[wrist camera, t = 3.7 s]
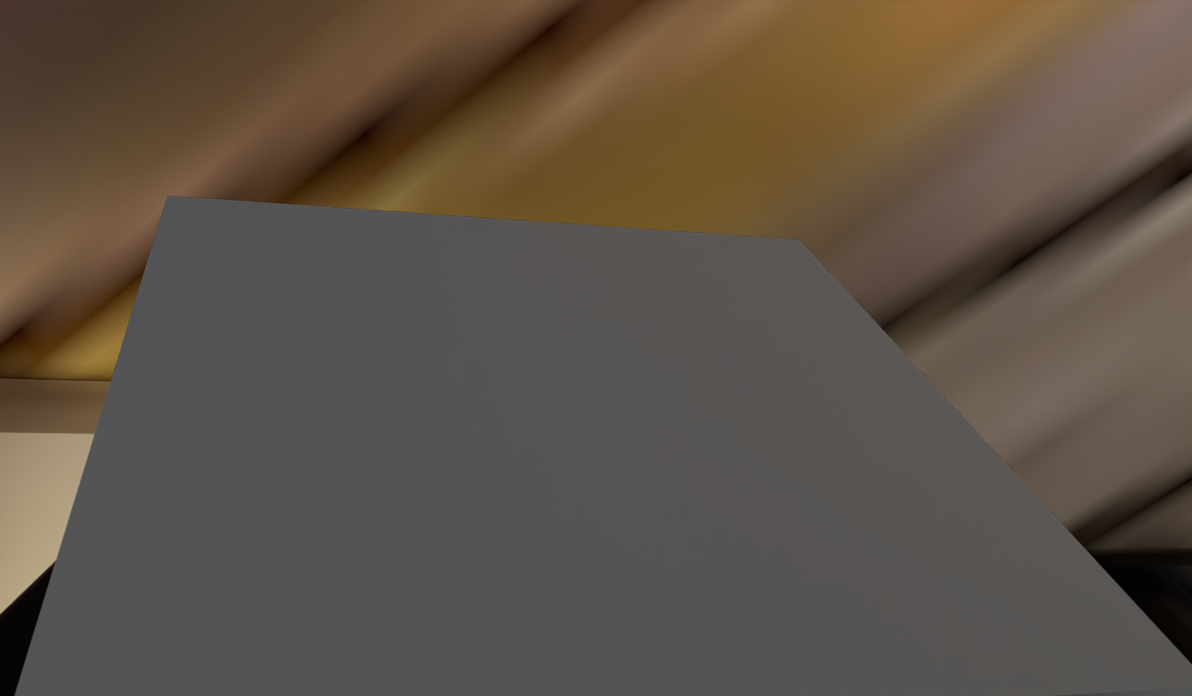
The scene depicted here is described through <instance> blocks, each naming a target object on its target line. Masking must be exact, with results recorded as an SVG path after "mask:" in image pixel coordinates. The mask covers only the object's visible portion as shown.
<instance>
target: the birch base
mask: <svg viewBox="0 0 1192 696" xmlns="http://www.w3.org/2000/svg"><path fill="white" fill-rule="evenodd" d="M110 382H111V381H75V380H38V379H1V378H0V614H1V613H2V612H3V611H4V610H5V609H6V608H7V607H8V606H9V605H10V604H11V603H12V602H13V601H14V600H15V599H16V598H17V597H18V596H19V595H20V594H21V593H22V592H23V591H25V590H26V589H27V588H28V587H29V586H30V585H31V584H32V583H33V582H34V581H35V580H36V579H37V578H38V577H39V576H40V575H41V574H42V573H43V572H44V571H45V570H46V569H47V568H48V567H49V566H50V565H52V564H53V563H54V562H55V561H56V559H57V555H58V552H59V549H60V546H61V542H62V539H63V536H64V533H65V529H66V526H67V523H68V519H69V516H70V513H71V510H72V506H73V503H74V500H75V497H76V493H77V490H78V487H79V483H80V480H81V477H82V474H83V470H84V467H85V464H86V461H87V457H88V454H89V451H90V448H91V444H92V441H93V438H94V434H95V431H96V428H97V425H98V421H99V418H100V415H101V412H102V408H103V405H104V402H105V398H106V395H107V392H108V389H109V385H110Z"/></svg>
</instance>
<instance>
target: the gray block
mask: <svg viewBox="0 0 1192 696" xmlns="http://www.w3.org/2000/svg"><path fill="white" fill-rule="evenodd" d="M15 696H1192V664H1191V663H1190V662H1189V661H1188V660H1187V659H1186V658H1185V657H1184V656H1183V654H1182V653H1181V652H1180V651H1179V650H1178V649H1177V648H1176V647H1175V646H1174V645H1173V644H1172V643H1171V641H1170V640H1169V639H1168V638H1167V637H1166V636H1165V635H1164V634H1163V633H1162V632H1161V631H1160V630H1159V628H1158V627H1157V626H1156V625H1155V624H1154V623H1153V622H1152V621H1151V620H1150V619H1149V618H1148V617H1147V615H1146V614H1145V613H1144V612H1143V611H1142V610H1141V609H1140V608H1139V607H1138V606H1137V605H1136V604H1135V602H1134V601H1133V600H1132V599H1131V598H1130V597H1129V596H1128V595H1127V594H1126V593H1125V592H1124V591H1123V589H1122V588H1121V587H1120V586H1119V585H1118V584H1117V583H1116V582H1115V581H1114V580H1113V579H1112V578H1111V576H1110V575H1109V574H1108V573H1107V572H1106V571H1105V570H1104V569H1103V568H1102V567H1101V566H1100V565H1099V563H1098V562H1097V561H1096V560H1095V559H1094V558H1093V557H1092V556H1091V555H1090V554H1089V553H1088V552H1087V550H1086V549H1085V548H1084V547H1083V546H1082V545H1081V544H1080V543H1079V542H1078V541H1077V540H1076V539H1075V537H1074V536H1073V535H1072V534H1071V533H1070V532H1069V531H1068V530H1067V529H1066V528H1065V527H1064V526H1063V525H1062V523H1061V522H1060V521H1059V520H1058V519H1057V518H1056V517H1055V516H1054V515H1053V514H1052V513H1051V512H1050V510H1049V509H1048V508H1047V507H1046V506H1045V505H1044V504H1043V503H1042V502H1041V501H1040V500H1039V499H1038V497H1037V496H1036V495H1035V494H1034V493H1033V492H1032V491H1031V490H1030V489H1029V488H1028V487H1027V486H1026V484H1025V483H1024V482H1023V481H1022V480H1021V479H1020V478H1019V477H1018V476H1017V475H1016V474H1015V473H1014V471H1013V470H1012V469H1011V468H1010V467H1009V466H1008V465H1007V464H1006V463H1005V462H1004V461H1003V460H1002V458H1001V457H1000V456H999V455H998V454H997V453H996V452H995V451H994V450H993V449H992V448H991V447H990V445H989V444H988V443H987V442H986V441H985V440H984V439H983V438H982V437H981V436H980V435H979V434H978V432H977V431H976V430H975V429H974V428H973V427H972V426H971V425H970V424H969V423H968V422H967V421H966V419H965V418H964V417H963V416H962V415H961V414H960V413H959V412H958V411H957V410H956V409H955V408H954V406H953V405H952V404H951V403H950V402H949V401H948V400H947V399H946V398H945V397H944V396H943V395H942V393H941V392H940V391H939V390H938V389H937V388H936V387H935V386H934V385H933V384H932V383H931V382H930V380H929V379H928V378H927V377H926V376H925V375H924V374H923V373H922V372H921V371H920V370H919V369H918V367H917V366H916V365H915V364H914V363H913V362H912V361H911V360H910V359H909V358H908V357H907V356H906V354H905V353H904V352H903V351H902V350H901V349H900V348H899V347H898V346H897V345H896V344H895V343H894V341H893V340H892V339H891V338H890V337H889V336H888V335H887V334H886V333H885V332H884V331H883V330H882V328H881V327H880V326H879V325H878V324H877V323H876V322H875V321H874V320H873V319H872V318H871V317H870V315H869V314H868V313H867V312H866V311H865V310H864V309H863V308H862V307H861V306H860V305H859V304H858V302H857V301H856V300H855V299H854V298H853V297H852V296H851V295H850V294H849V293H848V292H847V291H846V289H845V288H844V287H843V286H842V285H841V284H840V283H839V282H838V281H837V280H836V279H835V278H834V277H833V275H832V274H831V273H830V272H829V271H828V270H827V269H826V268H825V267H824V266H823V265H822V264H821V262H820V261H819V260H818V259H817V258H816V257H815V256H814V255H813V254H812V253H811V252H810V251H809V249H808V248H807V247H806V246H805V245H804V244H803V243H802V242H801V241H800V240H798V239H784V238H769V237H755V236H740V235H726V234H712V233H697V232H683V231H668V230H654V229H640V228H625V227H611V226H596V225H582V224H568V223H553V222H539V221H524V220H510V219H495V218H481V217H467V216H452V215H438V214H423V213H409V212H395V211H380V210H366V209H351V208H337V207H323V206H308V205H294V204H279V203H265V202H251V201H236V200H222V199H207V198H193V197H179V196H167V199H166V202H165V206H164V209H163V212H162V215H161V219H160V222H159V225H158V228H157V232H156V235H155V238H154V242H153V245H152V248H151V251H150V255H149V258H148V261H147V264H146V268H145V271H144V274H143V277H142V281H141V284H140V287H139V291H138V294H137V297H136V300H135V304H134V307H133V310H132V313H131V317H130V320H129V323H128V327H127V330H126V333H125V336H124V340H123V343H122V346H121V349H120V353H119V356H118V359H117V362H116V366H115V369H114V372H113V376H112V379H111V382H110V385H109V389H108V392H107V395H106V398H105V402H104V405H103V408H102V412H101V415H100V418H99V421H98V425H97V428H96V431H95V434H94V438H93V441H92V444H91V448H90V451H89V454H88V457H87V461H86V464H85V467H84V470H83V474H82V477H81V480H80V483H79V487H78V490H77V493H76V497H75V500H74V503H73V506H72V510H71V513H70V516H69V519H68V523H67V526H66V529H65V533H64V536H63V539H62V542H61V546H60V549H59V552H58V555H57V559H56V562H55V565H54V568H53V572H52V575H51V578H50V582H49V585H48V588H47V591H46V595H45V598H44V601H43V604H42V608H41V611H40V614H39V618H38V621H37V624H36V627H35V631H34V634H33V637H32V640H31V644H30V647H29V650H28V654H27V657H26V660H25V663H24V667H23V670H22V673H21V676H20V680H19V683H18V686H17V689H16V693H15Z"/></svg>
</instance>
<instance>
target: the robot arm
mask: <svg viewBox="0 0 1192 696" xmlns="http://www.w3.org/2000/svg"><path fill="white" fill-rule="evenodd" d="M1091 556H1092V557H1093V558H1094V559H1095V560H1096V561H1097V562H1098V563H1099V565H1100V566H1101V567H1102V568H1103V569H1104V570H1105V571H1106V572H1107V573H1108V574H1109V575H1110V576H1111V578H1112V579H1113V580H1114V581H1115V582H1116V583H1117V584H1118V585H1119V586H1120V587H1121V588H1122V589H1123V591H1124V592H1125V593H1126V594H1127V595H1128V596H1129V597H1130V598H1131V599H1132V600H1133V601H1134V602H1135V604H1136V605H1137V606H1138V607H1139V608H1140V609H1141V610H1142V611H1143V612H1144V613H1145V614H1146V615H1147V617H1148V618H1149V619H1150V620H1151V621H1152V622H1153V623H1154V624H1155V625H1156V626H1157V627H1158V628H1159V630H1160V631H1161V632H1162V633H1163V634H1164V635H1165V636H1166V637H1167V638H1168V639H1169V640H1170V641H1171V643H1172V644H1173V645H1174V646H1175V647H1176V648H1177V649H1178V650H1179V651H1180V652H1181V653H1182V654H1183V656H1184V657H1185V658H1186V659H1187V660H1188V661H1189V662H1190V663H1191V664H1192V554H1138V555H1091ZM55 562H56V561H55ZM55 562H54V563H53V564H52V565H50V566H49V567H48V568H47V569H46V570H45V571H44V572H43V573H42V574H41V575H40V576H39V577H38V578H37V579H36V580H35V581H34V582H33V583H32V584H31V585H30V586H29V587H28V588H27V589H26V590H25V591H23V592H22V593H21V594H20V595H19V596H18V597H17V598H16V599H15V600H14V601H13V602H12V603H11V604H10V605H9V606H8V607H7V608H6V609H5V610H4V611H3V612H2V613H1V614H0V696H15V693H16V689H17V686H18V683H19V680H20V676H21V673H22V670H23V667H24V663H25V660H26V657H27V654H28V650H29V647H30V644H31V640H32V637H33V634H34V631H35V627H36V624H37V621H38V618H39V614H40V611H41V608H42V604H43V601H44V598H45V595H46V591H47V588H48V585H49V582H50V578H51V575H52V572H53V568H54V565H55Z"/></svg>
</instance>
